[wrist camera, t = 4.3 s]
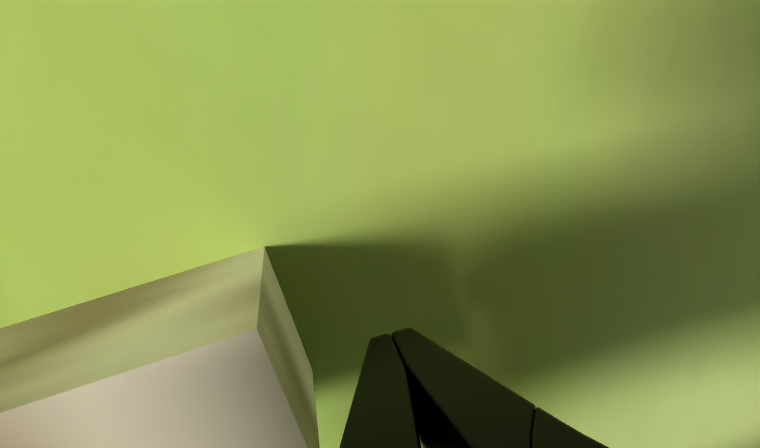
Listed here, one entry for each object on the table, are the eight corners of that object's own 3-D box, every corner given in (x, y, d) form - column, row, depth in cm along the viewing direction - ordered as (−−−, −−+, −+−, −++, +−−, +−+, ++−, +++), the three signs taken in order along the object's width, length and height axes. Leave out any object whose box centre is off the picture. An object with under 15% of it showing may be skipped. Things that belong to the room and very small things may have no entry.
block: (264, 242, 10) (256, 329, 7) (311, 362, 11) (323, 482, 8) (-215, 390, 9) (-484, 571, 6) (-103, 503, 10) (-273, 700, 7)
